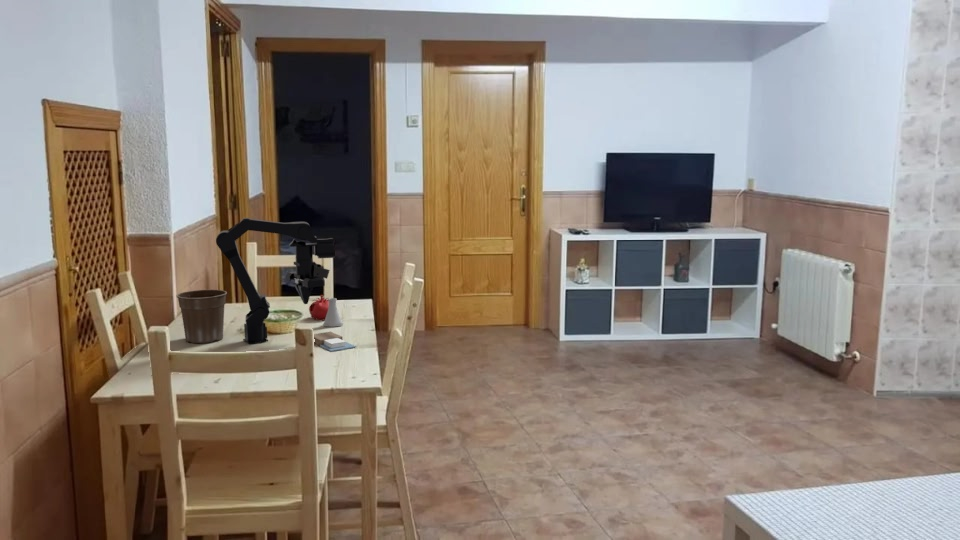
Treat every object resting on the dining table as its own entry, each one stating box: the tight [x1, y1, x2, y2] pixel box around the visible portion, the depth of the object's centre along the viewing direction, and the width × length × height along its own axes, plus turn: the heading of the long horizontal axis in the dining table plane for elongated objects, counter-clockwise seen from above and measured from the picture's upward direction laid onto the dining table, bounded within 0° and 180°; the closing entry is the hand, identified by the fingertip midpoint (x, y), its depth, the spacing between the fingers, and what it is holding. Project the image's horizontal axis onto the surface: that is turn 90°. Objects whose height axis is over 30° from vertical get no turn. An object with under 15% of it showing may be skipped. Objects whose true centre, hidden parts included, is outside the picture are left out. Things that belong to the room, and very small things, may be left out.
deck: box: [313, 331, 343, 346], centre depth 258 cm, size 8×9×2 cm
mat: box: [319, 341, 357, 353], centre depth 252 cm, size 9×8×1 cm
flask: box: [322, 297, 344, 328], centre depth 282 cm, size 7×7×10 cm
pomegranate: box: [308, 294, 330, 321], centre depth 293 cm, size 10×10×9 cm
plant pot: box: [176, 289, 228, 344], centre depth 260 cm, size 16×16×16 cm
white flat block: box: [324, 338, 347, 348], centre depth 252 cm, size 5×6×2 cm
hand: (305, 303), depth 262 cm, fingers closed
